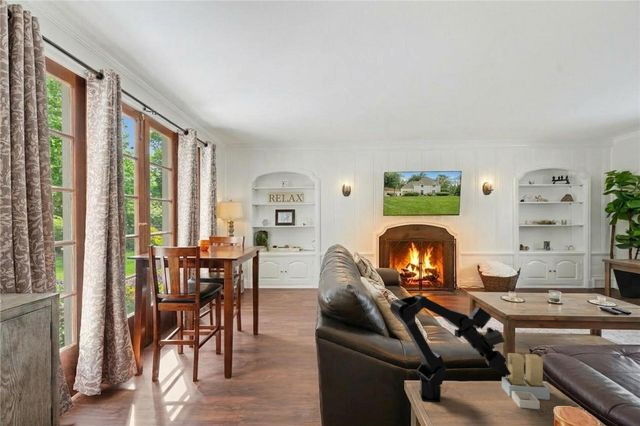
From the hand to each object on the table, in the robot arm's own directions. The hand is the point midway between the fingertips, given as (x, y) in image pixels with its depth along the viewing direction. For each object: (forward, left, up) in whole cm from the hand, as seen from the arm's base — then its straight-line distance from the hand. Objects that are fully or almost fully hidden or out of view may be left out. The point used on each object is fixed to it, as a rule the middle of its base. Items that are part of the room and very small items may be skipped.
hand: (504, 368), depth 124 cm
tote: (+4, -7, -9) cm, 12 cm away
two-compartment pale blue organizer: (+7, 0, -9) cm, 11 cm away
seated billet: (+10, 0, -7) cm, 13 cm away
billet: (+4, 0, -7) cm, 8 cm away
